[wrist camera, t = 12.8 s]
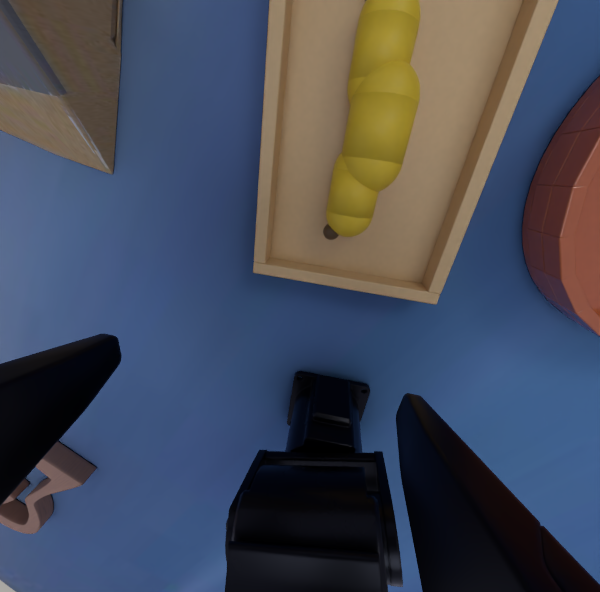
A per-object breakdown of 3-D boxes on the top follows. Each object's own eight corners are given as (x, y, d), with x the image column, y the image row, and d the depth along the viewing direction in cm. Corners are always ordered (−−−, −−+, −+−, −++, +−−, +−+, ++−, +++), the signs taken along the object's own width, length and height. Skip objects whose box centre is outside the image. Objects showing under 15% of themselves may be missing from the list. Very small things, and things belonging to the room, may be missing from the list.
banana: (375, 242, 17) (383, 256, 14) (322, 233, 18) (319, 245, 15) (439, -5, 12) (471, -60, 9) (363, -12, 13) (371, -68, 10)
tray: (427, 292, 19) (436, 305, 17) (260, 264, 20) (252, 273, 18) (568, -83, 11) (612, -132, 9) (287, -106, 12) (278, -155, 10)
